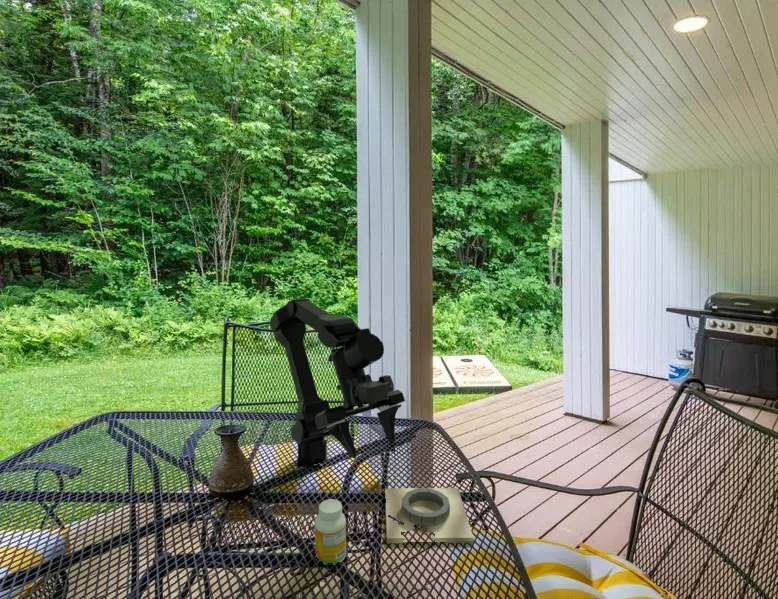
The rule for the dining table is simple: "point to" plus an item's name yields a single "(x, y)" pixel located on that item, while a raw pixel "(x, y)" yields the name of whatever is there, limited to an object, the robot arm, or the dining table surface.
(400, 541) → the ring holder
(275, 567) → the dining table surface
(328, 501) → the supplement bottle
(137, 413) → the dining table surface
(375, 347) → the robot arm
